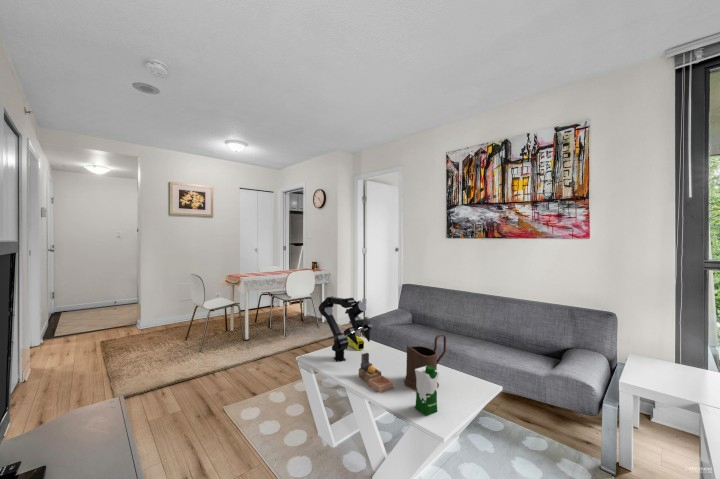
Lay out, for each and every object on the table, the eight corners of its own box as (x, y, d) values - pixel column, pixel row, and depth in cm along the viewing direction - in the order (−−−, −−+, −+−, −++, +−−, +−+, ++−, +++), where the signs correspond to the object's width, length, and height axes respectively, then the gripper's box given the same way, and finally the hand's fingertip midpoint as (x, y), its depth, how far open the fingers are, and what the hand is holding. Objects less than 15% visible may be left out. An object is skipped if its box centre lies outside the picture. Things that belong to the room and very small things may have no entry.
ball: (366, 372, 171) (366, 364, 171) (373, 371, 173) (373, 363, 173) (369, 375, 168) (369, 367, 168) (376, 374, 169) (376, 366, 169)
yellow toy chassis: (345, 344, 227) (345, 333, 227) (352, 343, 230) (352, 331, 230) (357, 351, 214) (357, 339, 214) (364, 350, 217) (364, 337, 217)
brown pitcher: (397, 378, 173) (398, 333, 173) (435, 372, 182) (435, 329, 182) (414, 394, 156) (415, 343, 156) (455, 387, 164) (456, 339, 164)
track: (358, 377, 173) (358, 368, 173) (370, 374, 178) (370, 365, 178) (369, 384, 165) (369, 375, 165) (381, 381, 170) (381, 371, 170)
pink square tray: (368, 385, 165) (368, 379, 165) (382, 380, 170) (382, 375, 170) (379, 392, 157) (379, 386, 157) (393, 387, 162) (393, 382, 162)
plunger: (360, 368, 175) (360, 354, 175) (367, 367, 177) (368, 352, 177) (364, 371, 171) (364, 356, 171) (372, 369, 174) (372, 354, 174)
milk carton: (426, 417, 135) (426, 371, 135) (411, 408, 143) (412, 364, 143) (440, 412, 140) (441, 367, 140) (426, 402, 148) (426, 360, 148)
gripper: (349, 315, 178) (359, 342, 171) (373, 310, 190) (383, 335, 184) (339, 322, 184) (348, 348, 178) (362, 317, 197) (371, 341, 191)
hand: (363, 343), depth 183 cm, fingers open, 9 cm apart
